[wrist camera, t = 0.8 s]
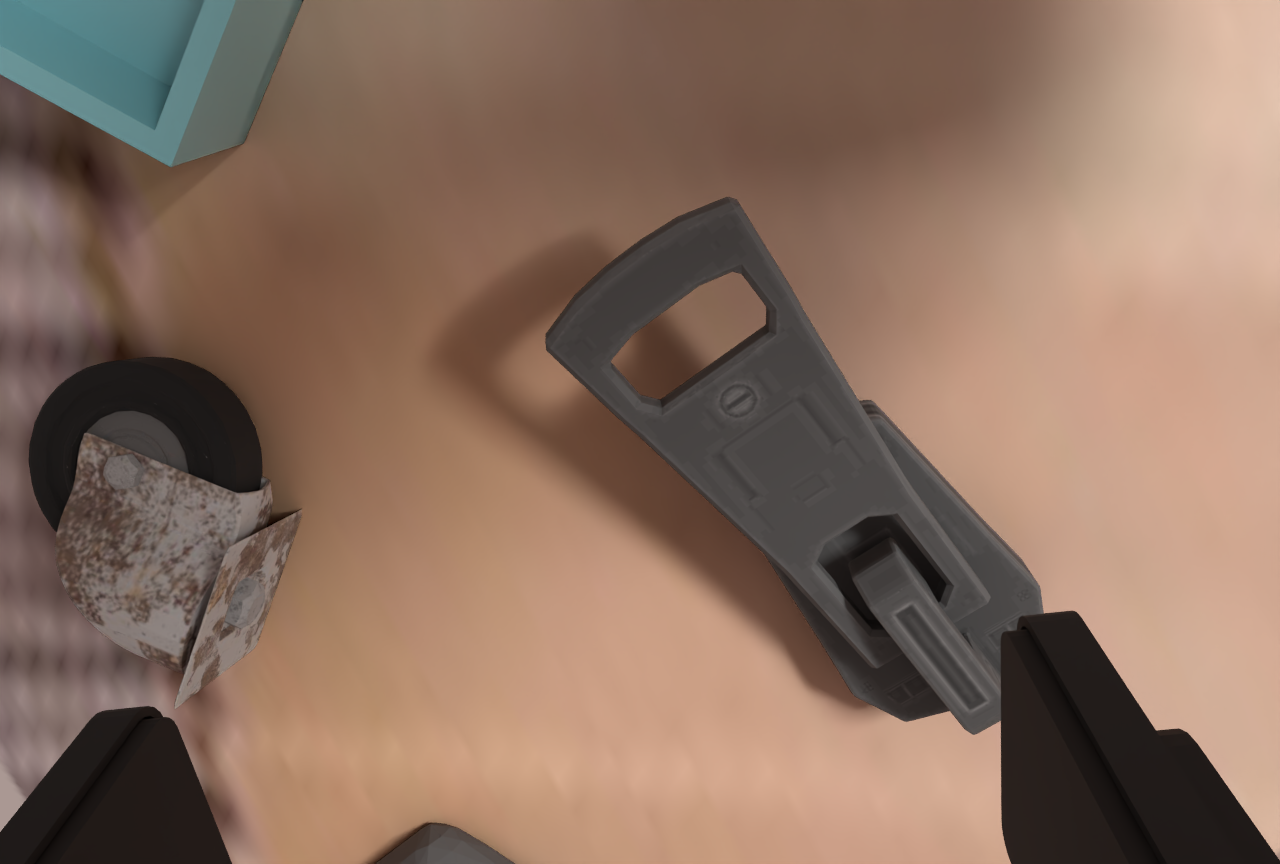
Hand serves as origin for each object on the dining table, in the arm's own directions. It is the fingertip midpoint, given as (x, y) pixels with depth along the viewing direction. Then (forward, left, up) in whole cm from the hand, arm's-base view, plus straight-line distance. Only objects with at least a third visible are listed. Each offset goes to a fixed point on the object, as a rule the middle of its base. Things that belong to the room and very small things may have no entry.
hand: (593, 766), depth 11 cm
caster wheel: (+19, -11, -29) cm, 36 cm away
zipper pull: (+4, +11, -29) cm, 31 cm away
